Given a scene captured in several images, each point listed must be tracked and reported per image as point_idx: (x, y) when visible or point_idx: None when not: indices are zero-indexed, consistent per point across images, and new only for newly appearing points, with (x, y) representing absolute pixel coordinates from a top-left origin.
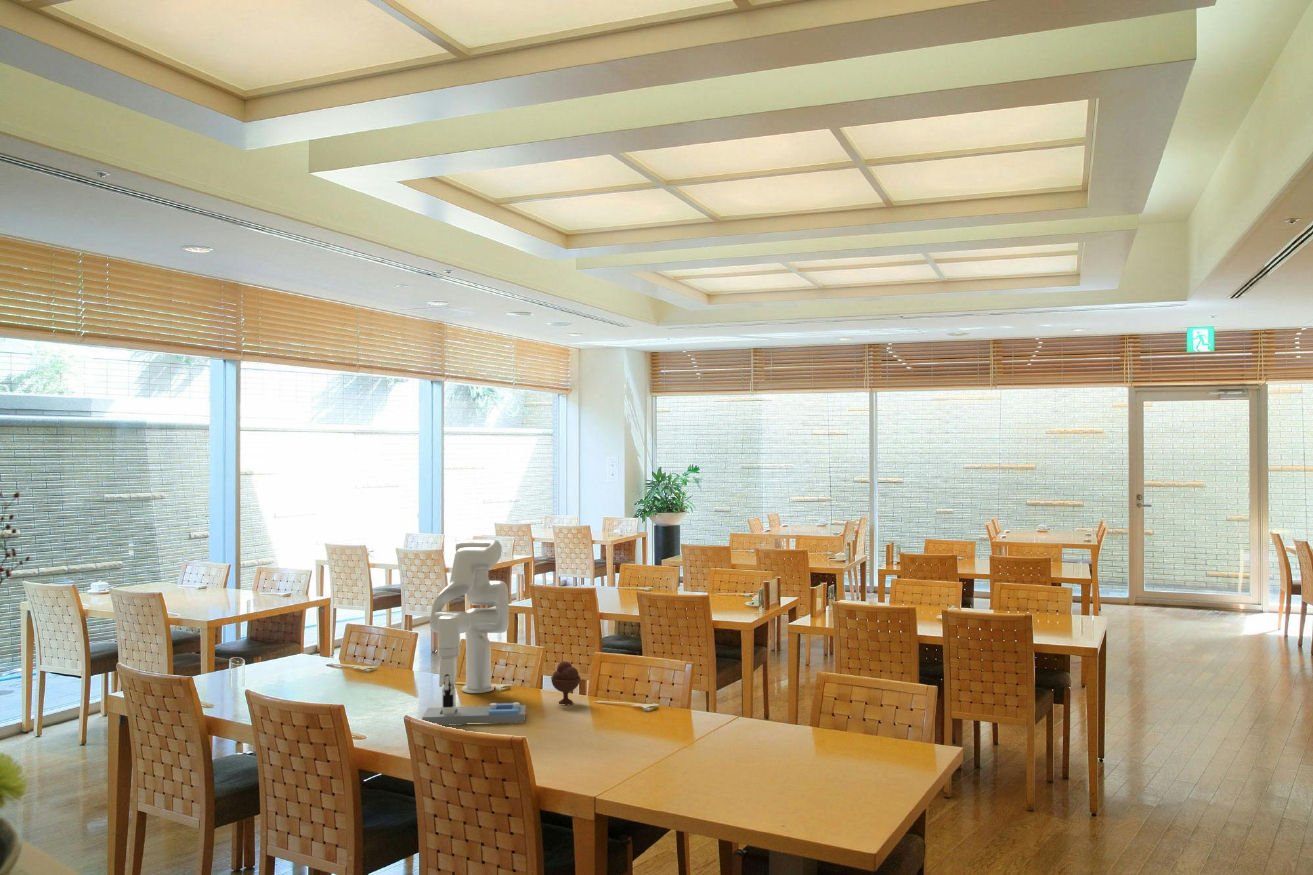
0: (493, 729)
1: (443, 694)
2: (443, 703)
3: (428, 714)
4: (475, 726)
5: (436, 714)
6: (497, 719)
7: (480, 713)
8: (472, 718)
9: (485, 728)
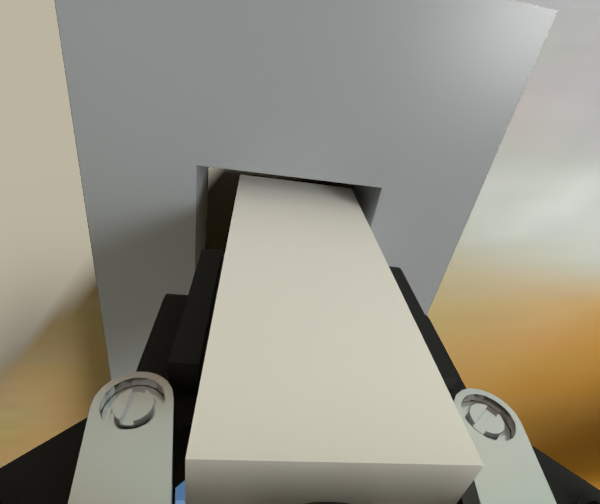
0: (29, 444)
1: (206, 372)
2: (194, 273)
3: (204, 18)
4: (93, 373)
5: (188, 131)
6: None
7: None
8: None
9: (47, 415)
